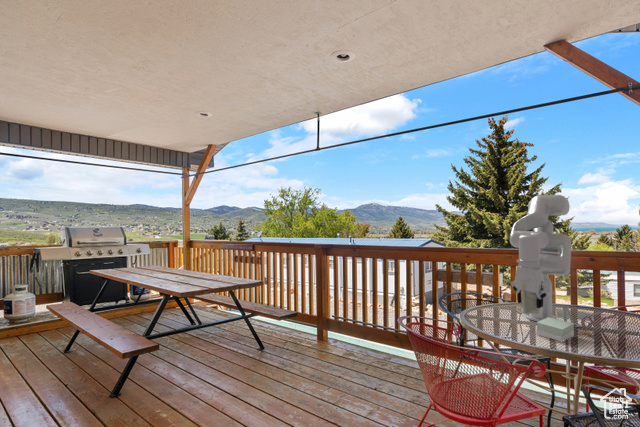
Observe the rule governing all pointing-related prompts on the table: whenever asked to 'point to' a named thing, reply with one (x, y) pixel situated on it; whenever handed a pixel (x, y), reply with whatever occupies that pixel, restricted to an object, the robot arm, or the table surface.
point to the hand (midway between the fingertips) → (530, 304)
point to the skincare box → (529, 302)
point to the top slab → (555, 326)
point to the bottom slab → (553, 336)
